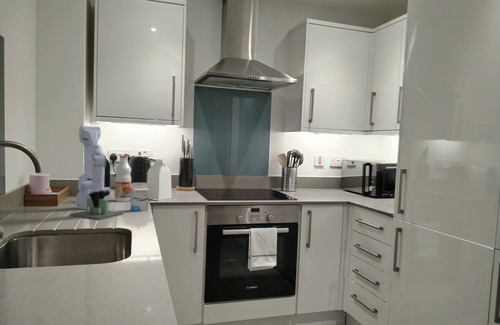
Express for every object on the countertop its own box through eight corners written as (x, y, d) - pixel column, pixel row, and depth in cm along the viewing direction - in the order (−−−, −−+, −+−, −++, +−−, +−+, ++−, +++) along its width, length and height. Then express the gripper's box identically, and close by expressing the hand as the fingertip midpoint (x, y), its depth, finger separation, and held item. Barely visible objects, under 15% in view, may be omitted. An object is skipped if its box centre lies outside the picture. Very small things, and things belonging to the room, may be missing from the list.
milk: (145, 198, 239) (146, 159, 237) (158, 197, 248) (159, 158, 247) (158, 201, 232) (160, 160, 231) (171, 199, 242) (172, 159, 241)
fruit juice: (118, 199, 233) (120, 155, 232) (133, 200, 232) (134, 155, 231) (111, 201, 223) (112, 155, 222) (126, 202, 222) (127, 156, 221)
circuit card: (86, 211, 182) (86, 197, 182) (88, 211, 184) (89, 197, 183) (105, 214, 178) (105, 200, 178) (107, 214, 179) (108, 199, 179)
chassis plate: (70, 215, 177) (70, 207, 177) (95, 210, 192) (95, 203, 191) (99, 219, 170) (99, 211, 170) (123, 214, 185) (123, 206, 185)
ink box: (132, 211, 194) (133, 183, 193) (130, 210, 198) (131, 182, 197) (148, 210, 198) (149, 183, 198) (145, 209, 203) (146, 182, 202)
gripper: (92, 181, 172) (92, 210, 172) (115, 179, 185) (114, 205, 186) (81, 180, 174) (80, 208, 175) (104, 178, 188) (103, 204, 188)
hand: (97, 207), depth 181 cm, fingers closed on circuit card, 1 cm apart
